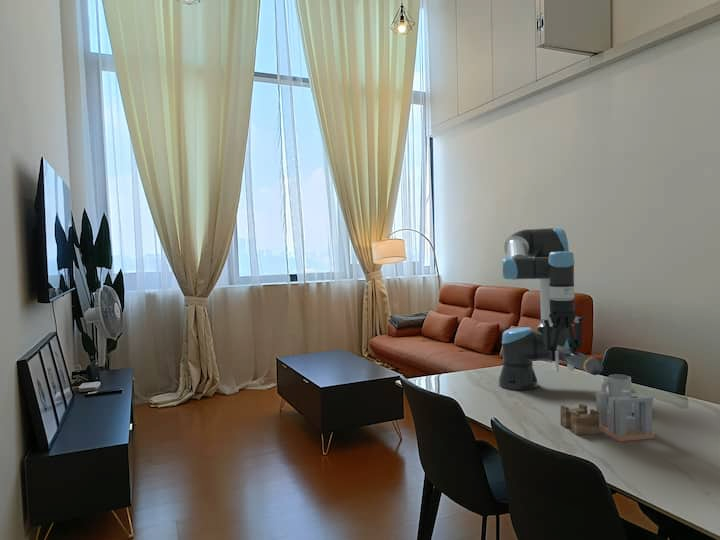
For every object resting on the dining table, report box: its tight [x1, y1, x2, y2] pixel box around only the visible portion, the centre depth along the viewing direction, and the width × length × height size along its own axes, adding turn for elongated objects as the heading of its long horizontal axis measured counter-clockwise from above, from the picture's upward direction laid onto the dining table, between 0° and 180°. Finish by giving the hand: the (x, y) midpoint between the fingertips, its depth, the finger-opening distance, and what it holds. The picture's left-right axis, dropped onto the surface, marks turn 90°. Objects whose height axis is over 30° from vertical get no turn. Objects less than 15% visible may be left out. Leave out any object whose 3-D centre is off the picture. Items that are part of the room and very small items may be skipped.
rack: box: [559, 402, 600, 436], centre depth 155 cm, size 9×7×6 cm
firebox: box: [595, 390, 656, 442], centre depth 154 cm, size 19×11×12 cm, turn 7°
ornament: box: [619, 385, 639, 414], centre depth 167 cm, size 6×7×10 cm
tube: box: [556, 345, 604, 376], centre depth 156 cm, size 22×5×5 cm, turn 7°
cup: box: [600, 373, 632, 399], centre depth 179 cm, size 7×10×9 cm
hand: (563, 370), depth 163 cm, fingers closed on tube, 4 cm apart
